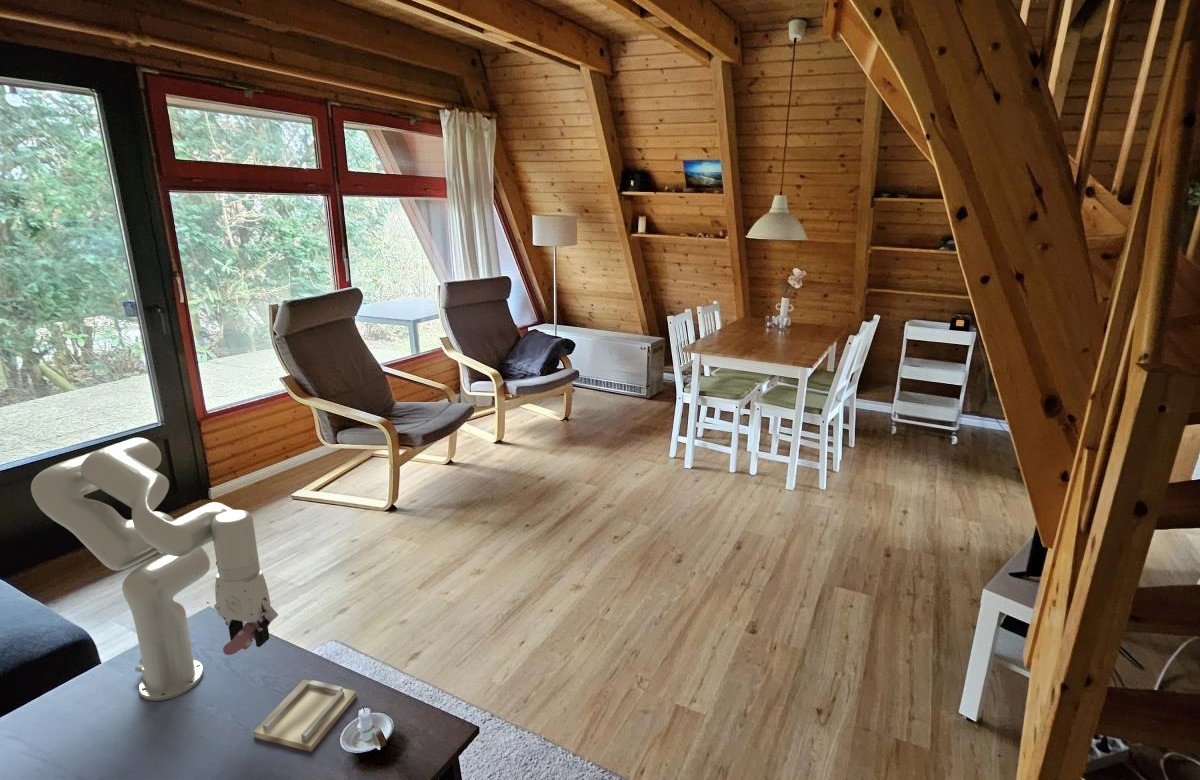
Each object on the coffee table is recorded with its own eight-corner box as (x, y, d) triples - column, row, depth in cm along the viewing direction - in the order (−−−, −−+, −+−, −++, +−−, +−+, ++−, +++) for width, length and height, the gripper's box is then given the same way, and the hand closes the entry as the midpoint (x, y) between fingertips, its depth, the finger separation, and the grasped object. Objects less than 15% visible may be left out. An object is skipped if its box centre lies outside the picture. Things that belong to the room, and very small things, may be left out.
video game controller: (237, 664, 132) (246, 641, 130) (219, 653, 132) (227, 630, 130) (270, 635, 142) (278, 613, 139) (253, 625, 142) (261, 602, 140)
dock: (253, 737, 133) (252, 727, 133) (304, 684, 148) (303, 675, 148) (311, 751, 130) (310, 741, 130) (356, 696, 145) (355, 687, 145)
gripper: (190, 571, 130) (203, 644, 135) (260, 583, 126) (271, 658, 131) (219, 553, 137) (230, 623, 142) (286, 564, 133) (296, 636, 138)
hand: (250, 639), depth 137 cm, fingers closed on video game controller, 5 cm apart
